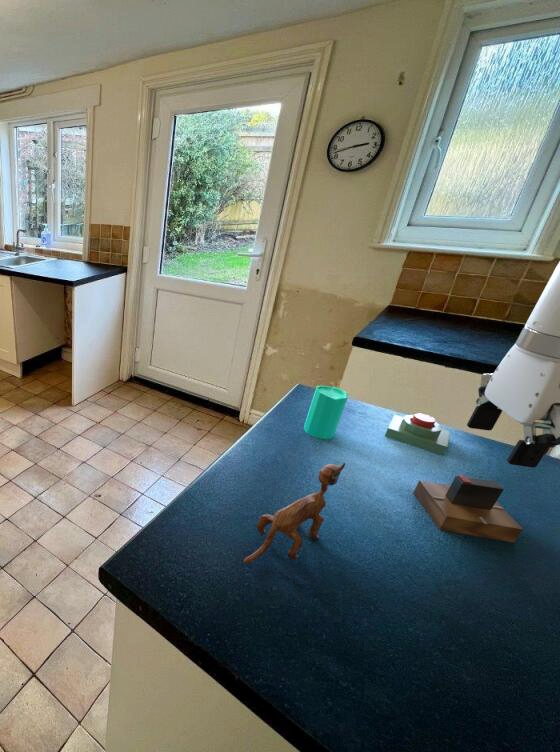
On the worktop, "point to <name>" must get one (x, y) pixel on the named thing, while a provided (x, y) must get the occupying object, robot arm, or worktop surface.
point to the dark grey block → (474, 492)
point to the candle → (325, 411)
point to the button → (423, 420)
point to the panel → (465, 515)
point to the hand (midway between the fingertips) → (498, 445)
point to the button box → (418, 434)
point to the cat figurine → (298, 515)
